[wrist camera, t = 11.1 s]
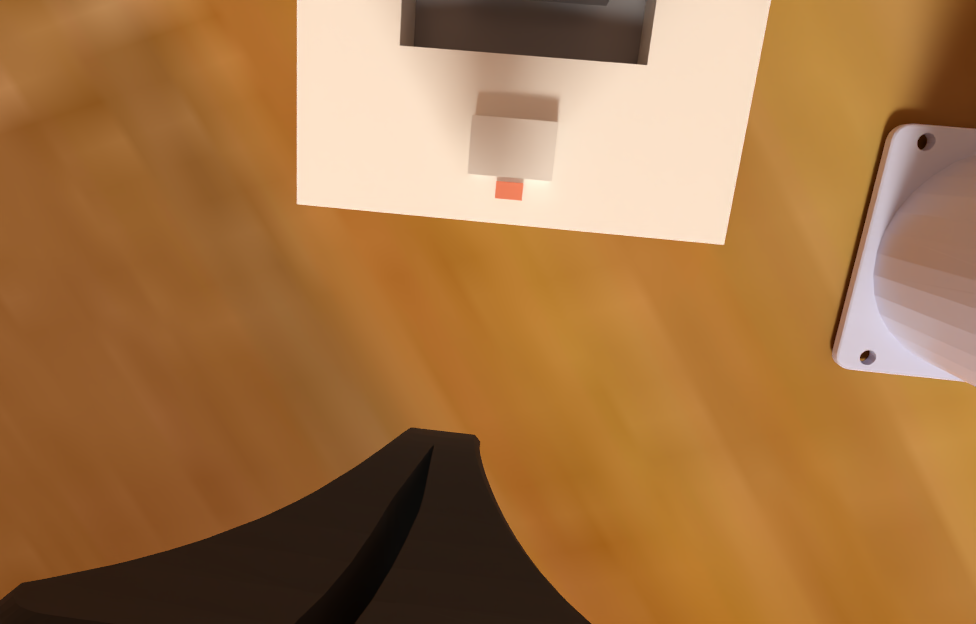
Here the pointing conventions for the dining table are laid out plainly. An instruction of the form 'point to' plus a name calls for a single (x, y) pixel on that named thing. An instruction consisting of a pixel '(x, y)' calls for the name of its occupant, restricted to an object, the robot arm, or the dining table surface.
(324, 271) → the dining table surface
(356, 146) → the socket plate
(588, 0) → the plug
